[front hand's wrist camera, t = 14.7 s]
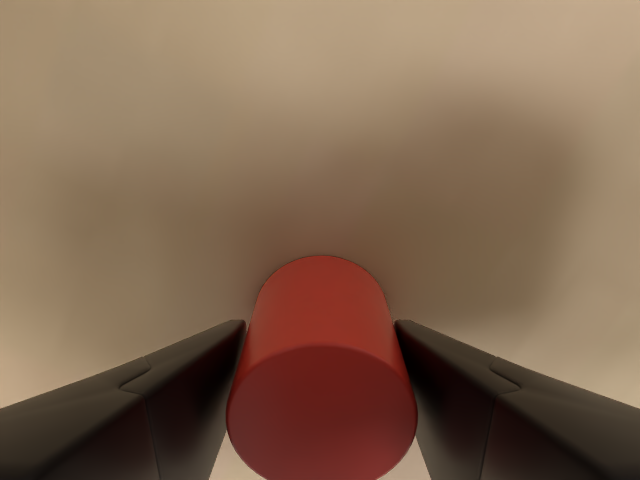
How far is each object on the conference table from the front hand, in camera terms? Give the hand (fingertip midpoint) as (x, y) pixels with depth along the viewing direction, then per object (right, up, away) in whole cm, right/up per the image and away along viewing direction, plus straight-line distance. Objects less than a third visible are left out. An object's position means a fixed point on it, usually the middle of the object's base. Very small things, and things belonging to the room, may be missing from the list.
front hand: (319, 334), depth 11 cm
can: (0, 0, +1) cm, 1 cm away
